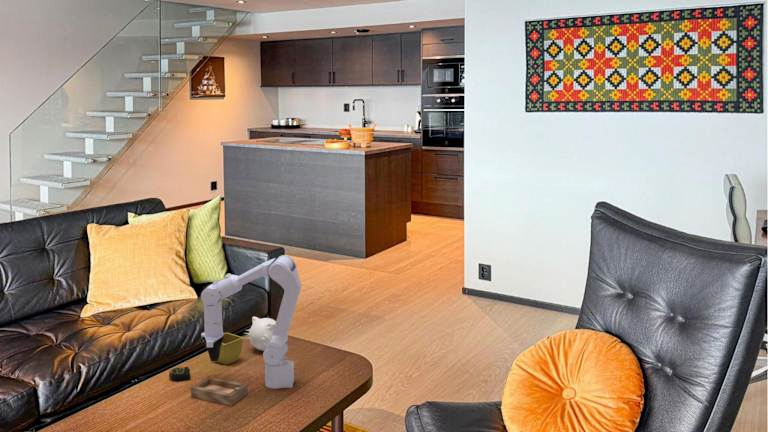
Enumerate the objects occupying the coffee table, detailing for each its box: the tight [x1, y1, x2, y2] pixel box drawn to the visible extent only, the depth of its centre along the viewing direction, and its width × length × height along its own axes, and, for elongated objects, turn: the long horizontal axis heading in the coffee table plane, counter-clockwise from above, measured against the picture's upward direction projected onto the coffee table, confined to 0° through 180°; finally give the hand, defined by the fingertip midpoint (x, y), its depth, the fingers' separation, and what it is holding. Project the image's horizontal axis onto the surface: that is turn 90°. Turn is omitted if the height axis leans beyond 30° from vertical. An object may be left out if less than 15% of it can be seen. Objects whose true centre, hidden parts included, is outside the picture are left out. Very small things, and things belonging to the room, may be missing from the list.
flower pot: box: [216, 332, 244, 366], centre depth 242 cm, size 9×9×9 cm
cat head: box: [243, 316, 276, 352], centre depth 253 cm, size 15×13×12 cm
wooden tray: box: [190, 375, 249, 407], centre depth 214 cm, size 15×9×4 cm, turn 68°
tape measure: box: [168, 366, 191, 383], centre depth 227 cm, size 7×7×4 cm
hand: (214, 359), depth 224 cm, fingers closed
